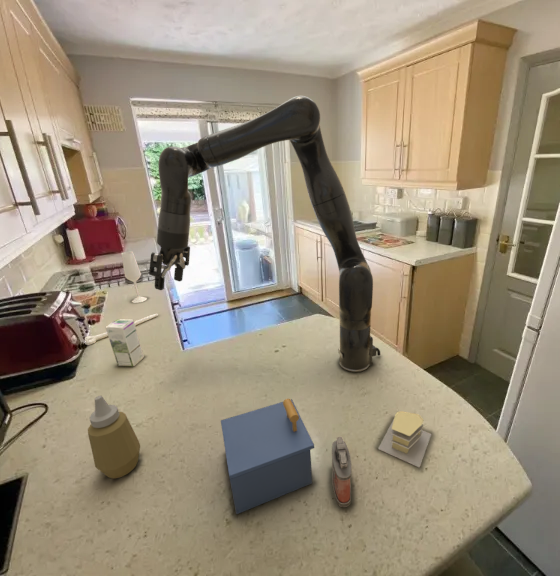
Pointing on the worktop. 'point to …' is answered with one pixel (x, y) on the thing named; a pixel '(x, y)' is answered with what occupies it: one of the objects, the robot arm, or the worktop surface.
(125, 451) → the squeeze bottle
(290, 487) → the box
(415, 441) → the stacked layers on plate
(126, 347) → the syrup box
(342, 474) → the lighter
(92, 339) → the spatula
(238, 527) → the worktop surface
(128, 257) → the champagne flute
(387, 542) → the worktop surface
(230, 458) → the blue box lid
